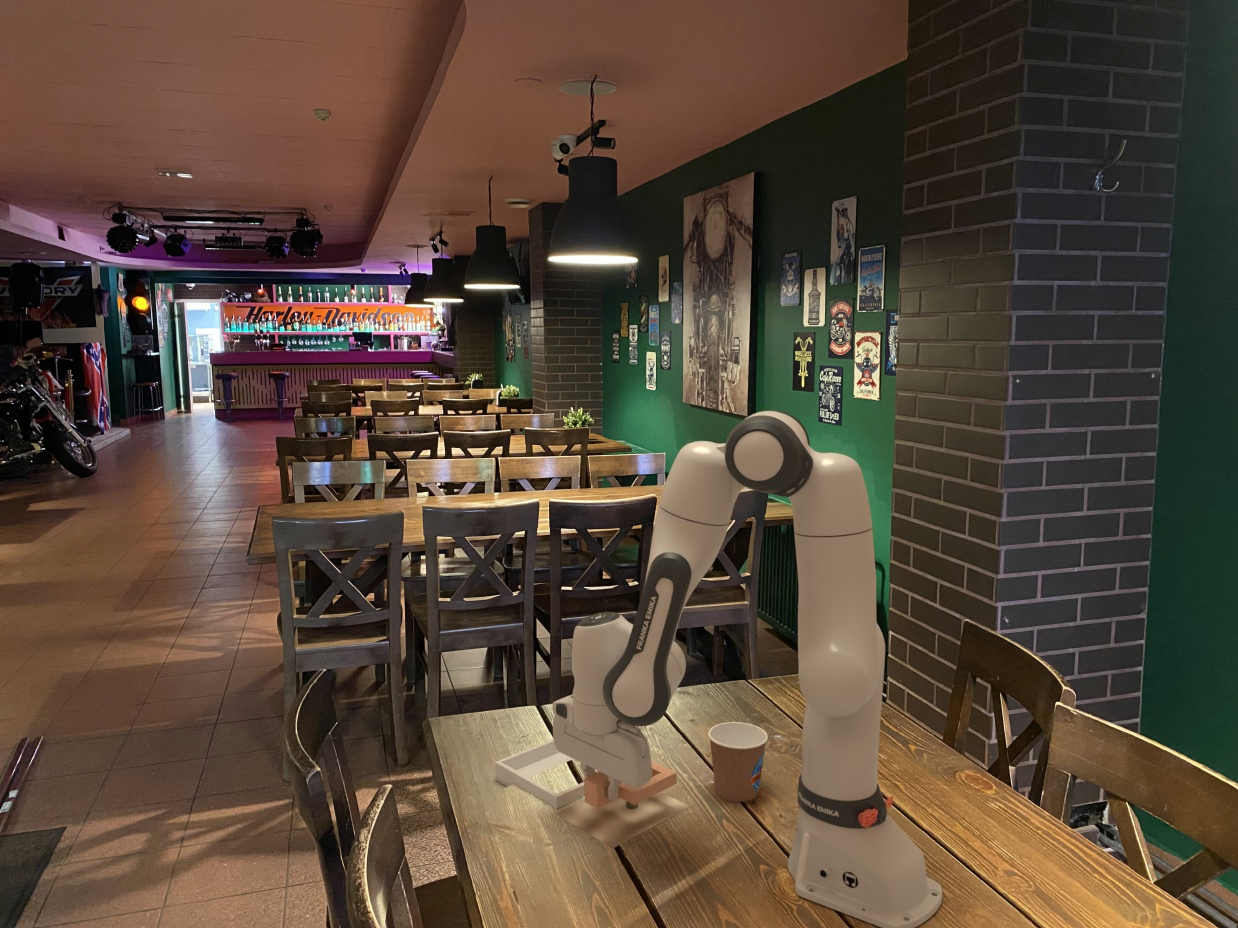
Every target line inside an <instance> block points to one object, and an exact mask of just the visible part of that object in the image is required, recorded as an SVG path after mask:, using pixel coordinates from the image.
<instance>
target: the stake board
mask: <svg viewBox="0 0 1238 928" xmlns="http://www.w3.org/2000/svg"><path fill="white" fill-rule="evenodd" d="M689 808H691V806H690V805H689V804H685V803H684V802H681V801H680V800H678V799H676V798H674V797H671V796H670V795H668V794H666V793H664V792H663V791H661V792H659V793H657V794H655V795H653V796H651V797H649V798H647V799H646V800H644V801H642V802H640V803H638V804H636V805H633V804H631V803H629V802H627V801H625V800H623V799H621V798H617V799H615V800H613V801H611V802H609V803H607V804H605V805H603V806H601V807H599V808H595V807H593V806H591V805H589V804H587V803H585V800H582V801H580V802H578V803H576V804H574V805H572V806H568V807H567V808H565V809H562V810H561V811H559V812H556V813H555V814H556V815H557V816H558V817H560V818H562V819H563V820H565V821H567V822H569V823H570V824H572V825H573V826H575V827H576V828H579V829H580V830H582V831H584V832H585V833H587V834H588V835H590V836H592V837H594V838H595V839H596V840H598V841H601V842H602V843H604V844H605V845H607V846H609V847H611V848H612V849H614V848H616V847H618V846H620V845H622V844H624V843H625V842H627V841H629V840H631V839H633V838H635V837H636V836H639V835H640V834H642V833H644V832H646V831H649V829H651V828H654V827H655V826H657V825H659V824H661V823H663V822H665V821H667V820H669V819H670V818H673V817H674V816H676V815H678V814H679V813H681V812H683V811H685V810H687V809H689Z"/></svg>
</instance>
